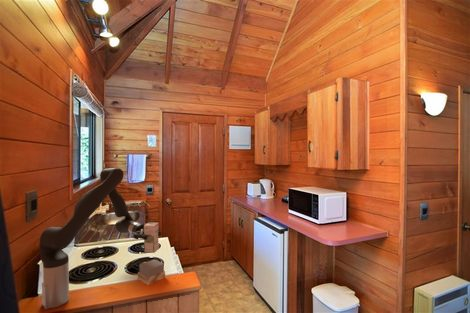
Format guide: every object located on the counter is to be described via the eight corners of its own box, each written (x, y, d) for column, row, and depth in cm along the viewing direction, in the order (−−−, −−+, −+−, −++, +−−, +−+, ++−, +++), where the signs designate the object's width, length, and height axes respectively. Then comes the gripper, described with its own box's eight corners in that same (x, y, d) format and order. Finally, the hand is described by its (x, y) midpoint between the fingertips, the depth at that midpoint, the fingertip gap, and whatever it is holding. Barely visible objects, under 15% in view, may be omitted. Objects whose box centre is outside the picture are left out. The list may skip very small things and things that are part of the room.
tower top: (148, 277, 124) (148, 269, 124) (139, 272, 130) (139, 264, 130) (163, 271, 131) (163, 263, 131) (154, 266, 137) (154, 259, 137)
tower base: (147, 286, 124) (147, 278, 124) (137, 280, 130) (137, 272, 130) (165, 278, 131) (165, 271, 131) (154, 273, 138) (154, 266, 138)
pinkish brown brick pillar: (158, 249, 133) (158, 222, 133) (154, 253, 128) (154, 225, 127) (148, 248, 134) (148, 222, 134) (143, 252, 128) (143, 225, 128)
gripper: (125, 225, 135) (140, 231, 124) (149, 220, 145) (165, 225, 135) (125, 239, 135) (140, 246, 124) (149, 233, 145) (165, 239, 135)
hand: (153, 235), depth 129 cm, fingers closed on pinkish brown brick pillar, 7 cm apart
